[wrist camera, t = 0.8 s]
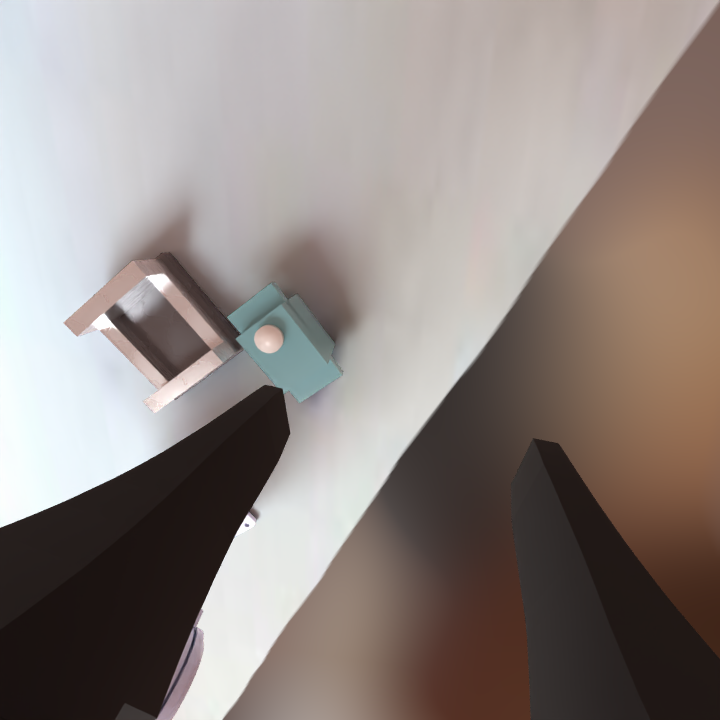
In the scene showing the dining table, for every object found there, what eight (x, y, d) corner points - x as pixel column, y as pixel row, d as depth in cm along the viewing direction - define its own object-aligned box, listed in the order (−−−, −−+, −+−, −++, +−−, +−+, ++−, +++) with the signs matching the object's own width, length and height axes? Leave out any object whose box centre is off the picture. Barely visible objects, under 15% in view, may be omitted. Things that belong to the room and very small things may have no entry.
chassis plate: (181, 395, 29) (153, 417, 25) (101, 312, 27) (57, 323, 23) (248, 345, 27) (229, 361, 24) (169, 252, 25) (134, 254, 21)
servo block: (308, 382, 28) (294, 414, 23) (246, 306, 26) (215, 322, 21) (346, 357, 28) (340, 384, 22) (285, 277, 25) (263, 286, 20)
